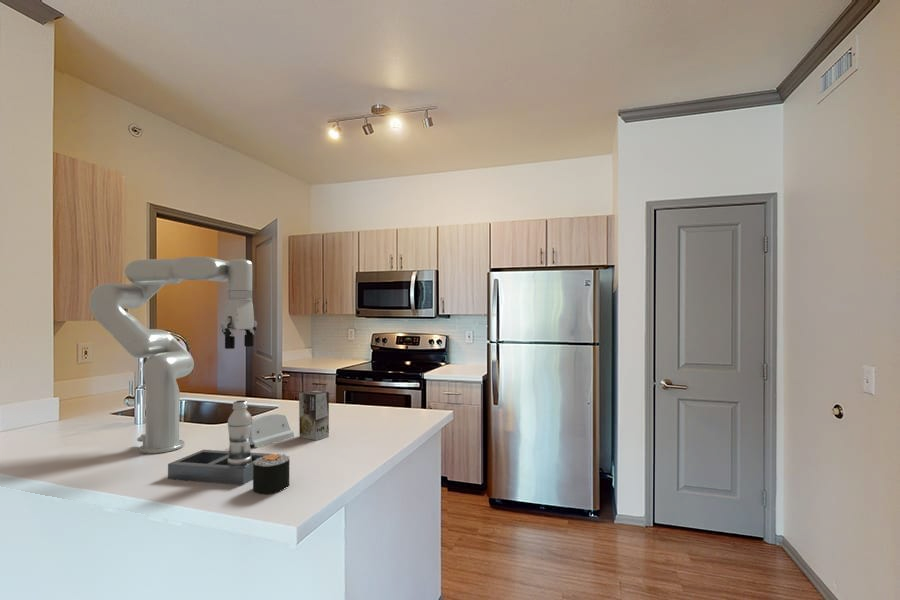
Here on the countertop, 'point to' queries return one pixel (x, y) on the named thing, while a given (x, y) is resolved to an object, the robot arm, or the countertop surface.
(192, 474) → the tray
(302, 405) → the coffee box
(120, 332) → the robot arm
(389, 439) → the countertop surface
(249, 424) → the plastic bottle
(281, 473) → the sushi
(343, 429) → the countertop surface
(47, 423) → the countertop surface
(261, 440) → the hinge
